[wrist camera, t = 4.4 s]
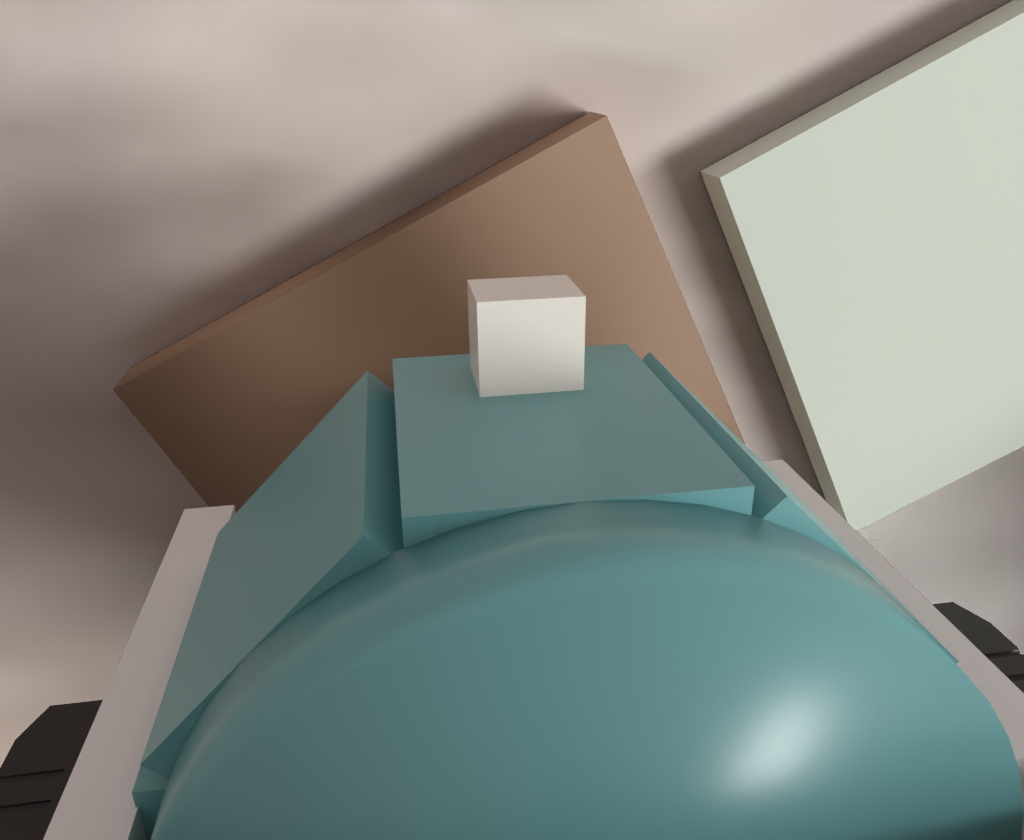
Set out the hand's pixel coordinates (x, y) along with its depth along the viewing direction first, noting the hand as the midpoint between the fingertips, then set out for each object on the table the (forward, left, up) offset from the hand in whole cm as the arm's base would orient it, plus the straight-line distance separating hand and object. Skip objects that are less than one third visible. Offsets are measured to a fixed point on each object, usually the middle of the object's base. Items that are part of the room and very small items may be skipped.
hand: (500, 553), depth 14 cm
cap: (0, 0, +2) cm, 2 cm away
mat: (+11, -1, -4) cm, 12 cm away
